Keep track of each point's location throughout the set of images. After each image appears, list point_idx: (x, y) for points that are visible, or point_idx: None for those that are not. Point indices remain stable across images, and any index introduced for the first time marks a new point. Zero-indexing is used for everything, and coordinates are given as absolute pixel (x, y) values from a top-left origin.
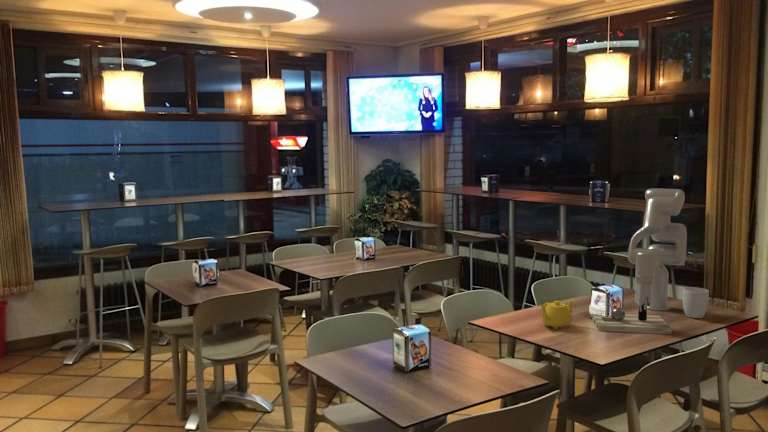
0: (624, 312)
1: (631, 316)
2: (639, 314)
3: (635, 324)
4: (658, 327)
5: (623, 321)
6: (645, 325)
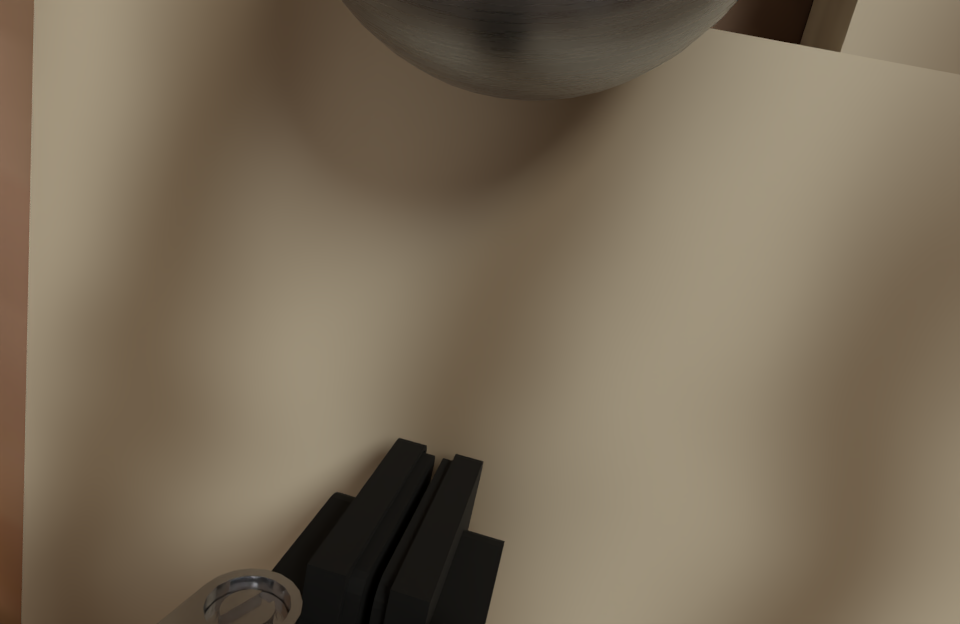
0: (381, 13)
1: (893, 478)
2: (348, 517)
3: (195, 236)
4: (34, 569)
5: None
6: (137, 410)
